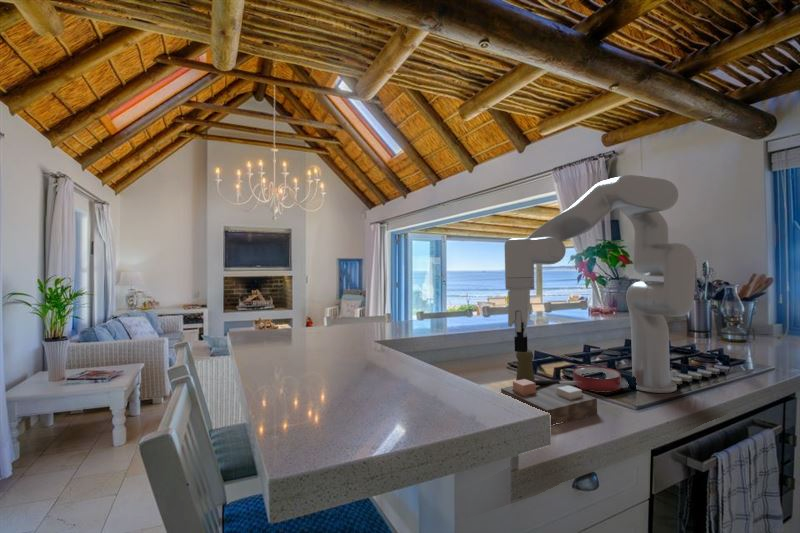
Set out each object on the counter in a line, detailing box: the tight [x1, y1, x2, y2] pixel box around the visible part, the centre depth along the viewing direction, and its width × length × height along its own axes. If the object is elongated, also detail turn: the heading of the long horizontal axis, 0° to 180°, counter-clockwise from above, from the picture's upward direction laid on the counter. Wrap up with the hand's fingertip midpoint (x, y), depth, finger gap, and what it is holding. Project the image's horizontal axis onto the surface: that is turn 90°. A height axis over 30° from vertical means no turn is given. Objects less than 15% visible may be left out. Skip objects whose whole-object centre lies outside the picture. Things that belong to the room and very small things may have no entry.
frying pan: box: [531, 365, 622, 392], centre depth 116 cm, size 32×13×6 cm, turn 121°
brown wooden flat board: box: [500, 378, 598, 426], centre depth 105 cm, size 16×18×4 cm
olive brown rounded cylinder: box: [515, 349, 536, 381], centre depth 125 cm, size 6×6×11 cm
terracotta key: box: [512, 379, 536, 396], centre depth 107 cm, size 4×4×3 cm
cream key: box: [557, 385, 583, 400], centre depth 103 cm, size 4×4×3 cm
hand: (521, 351), depth 107 cm, fingers closed
